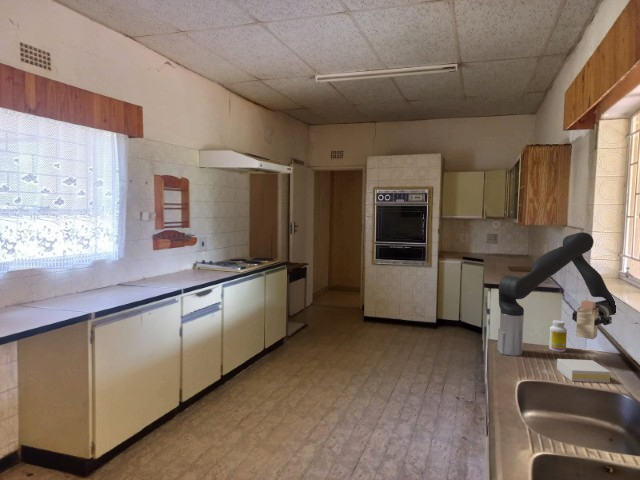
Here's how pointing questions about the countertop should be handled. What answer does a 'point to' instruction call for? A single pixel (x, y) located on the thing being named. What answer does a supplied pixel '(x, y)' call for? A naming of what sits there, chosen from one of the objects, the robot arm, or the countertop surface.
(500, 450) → the countertop surface
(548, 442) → the countertop surface
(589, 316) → the box
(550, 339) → the supplement bottle
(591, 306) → the block
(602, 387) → the countertop surface
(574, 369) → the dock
